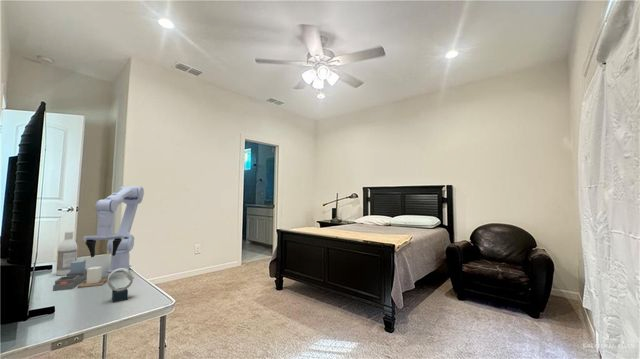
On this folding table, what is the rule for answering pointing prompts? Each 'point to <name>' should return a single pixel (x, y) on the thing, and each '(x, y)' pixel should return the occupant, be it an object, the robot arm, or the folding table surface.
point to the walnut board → (93, 283)
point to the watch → (120, 293)
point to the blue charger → (78, 266)
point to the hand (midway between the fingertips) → (103, 256)
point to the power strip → (70, 281)
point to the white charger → (94, 275)
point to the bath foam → (66, 254)
